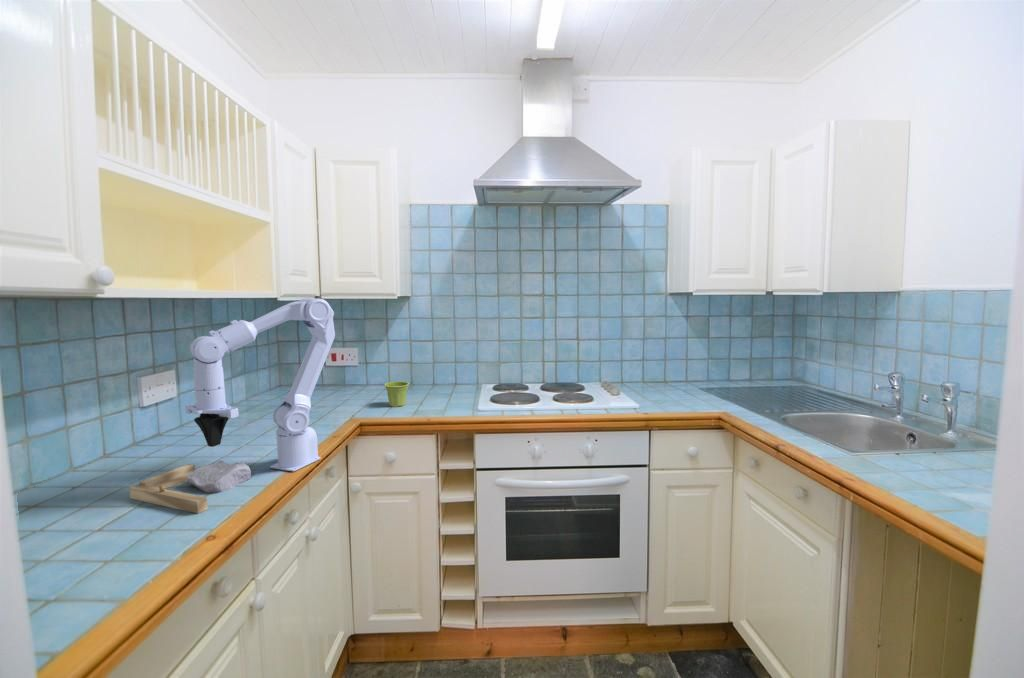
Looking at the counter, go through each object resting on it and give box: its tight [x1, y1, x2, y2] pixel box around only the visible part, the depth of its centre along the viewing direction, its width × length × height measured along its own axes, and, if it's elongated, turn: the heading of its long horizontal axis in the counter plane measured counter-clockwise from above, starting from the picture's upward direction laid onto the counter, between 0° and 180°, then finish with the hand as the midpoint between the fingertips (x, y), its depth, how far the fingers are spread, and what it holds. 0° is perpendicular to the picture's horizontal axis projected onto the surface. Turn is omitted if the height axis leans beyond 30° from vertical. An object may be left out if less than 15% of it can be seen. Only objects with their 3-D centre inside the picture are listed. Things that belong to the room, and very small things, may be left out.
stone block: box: [186, 460, 252, 494], centre depth 107 cm, size 12×5×10 cm
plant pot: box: [384, 381, 410, 408], centre depth 179 cm, size 9×9×9 cm
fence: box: [128, 463, 208, 514], centre depth 101 cm, size 13×21×4 cm, turn 70°
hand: (214, 445), depth 105 cm, fingers closed
